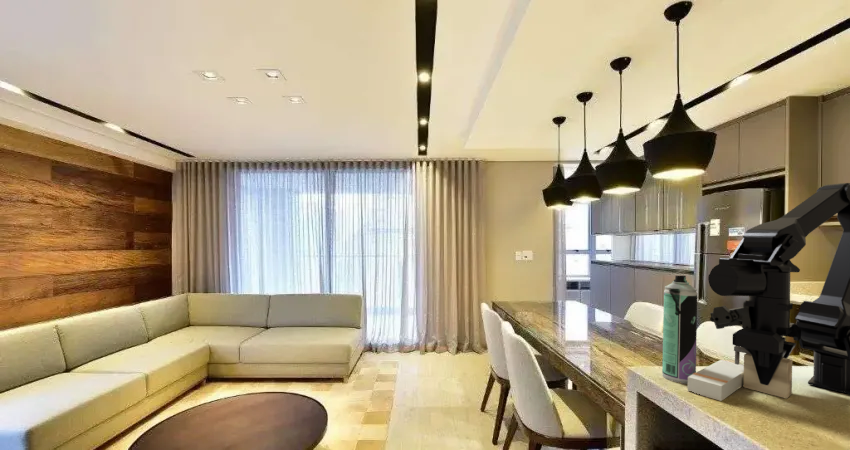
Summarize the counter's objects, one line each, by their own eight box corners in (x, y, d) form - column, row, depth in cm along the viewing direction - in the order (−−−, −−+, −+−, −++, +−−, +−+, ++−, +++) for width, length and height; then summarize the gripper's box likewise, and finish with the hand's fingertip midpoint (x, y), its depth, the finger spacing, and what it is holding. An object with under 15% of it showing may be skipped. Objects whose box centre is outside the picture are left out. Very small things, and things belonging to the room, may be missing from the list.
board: (720, 371, 82) (720, 358, 82) (751, 379, 78) (751, 365, 78) (687, 391, 71) (687, 376, 71) (721, 401, 67) (721, 385, 67)
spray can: (697, 385, 73) (699, 277, 74) (662, 379, 76) (664, 275, 76) (694, 377, 78) (696, 275, 78) (661, 371, 81) (664, 273, 81)
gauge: (737, 379, 77) (738, 344, 77) (791, 393, 71) (792, 355, 71) (730, 383, 75) (731, 347, 75) (786, 398, 69) (787, 359, 69)
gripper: (731, 287, 85) (729, 360, 84) (699, 293, 73) (697, 378, 73) (802, 295, 76) (800, 377, 76) (778, 303, 64) (777, 399, 64)
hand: (767, 381), depth 72 cm, fingers closed on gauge, 4 cm apart
